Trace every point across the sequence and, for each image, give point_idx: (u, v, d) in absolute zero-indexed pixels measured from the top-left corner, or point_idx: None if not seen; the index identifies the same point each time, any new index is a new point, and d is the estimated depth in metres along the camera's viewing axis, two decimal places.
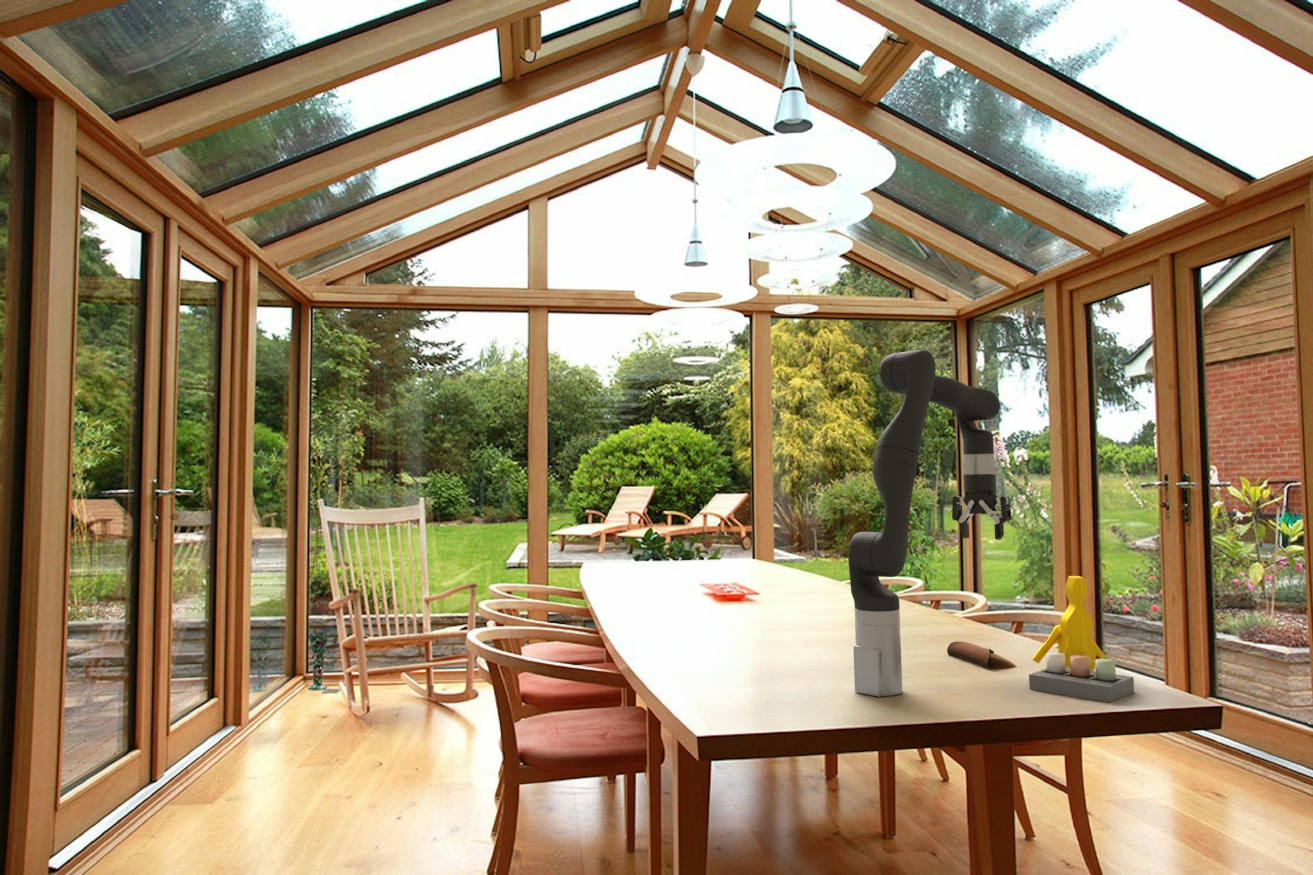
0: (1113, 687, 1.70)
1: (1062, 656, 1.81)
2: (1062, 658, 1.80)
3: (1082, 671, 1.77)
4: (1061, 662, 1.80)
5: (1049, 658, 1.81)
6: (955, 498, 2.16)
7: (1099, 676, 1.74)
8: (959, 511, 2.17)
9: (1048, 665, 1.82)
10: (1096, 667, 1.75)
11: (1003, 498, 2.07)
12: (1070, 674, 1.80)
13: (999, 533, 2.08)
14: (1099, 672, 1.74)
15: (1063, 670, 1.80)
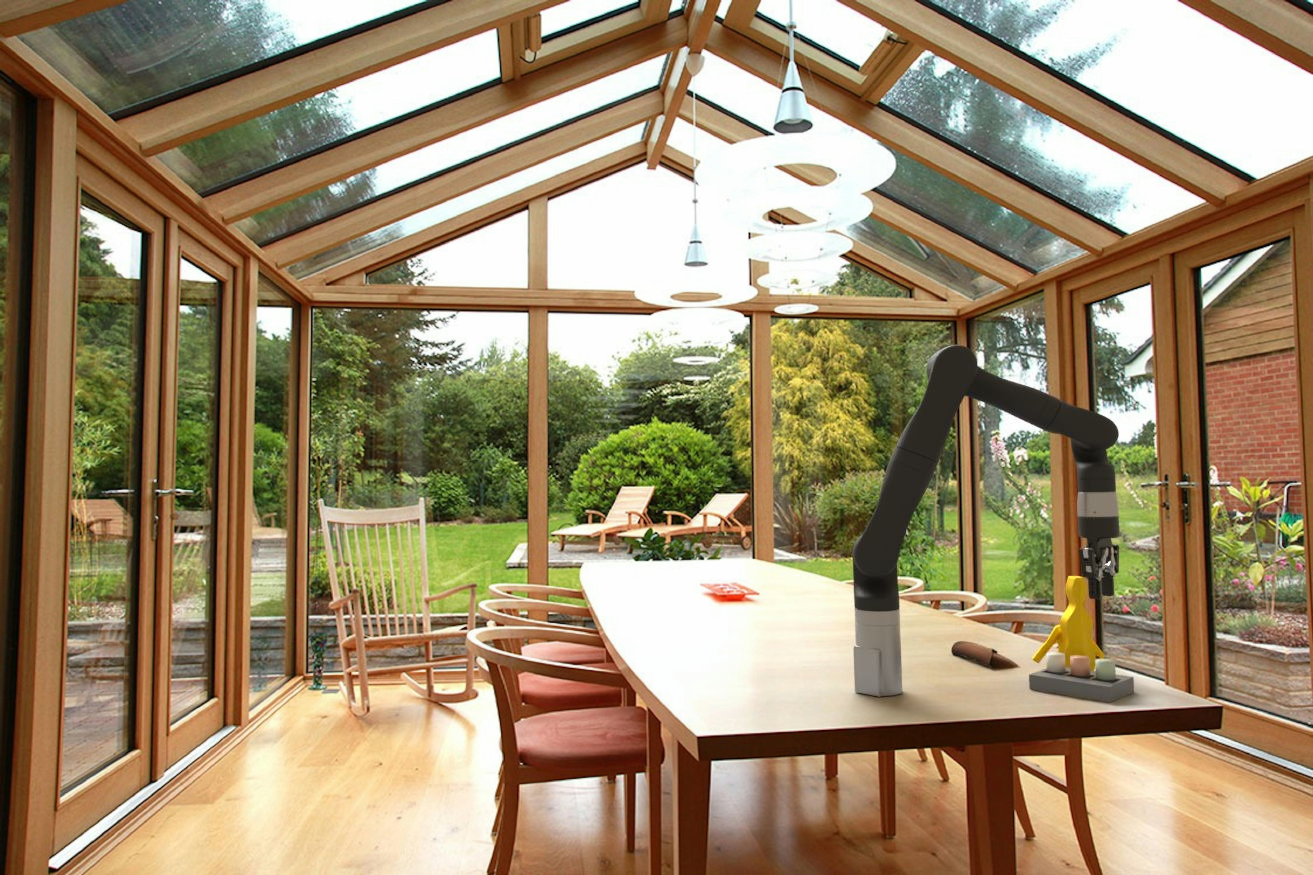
0: (1113, 687, 1.70)
1: (1062, 656, 1.81)
2: (1062, 658, 1.80)
3: (1082, 671, 1.77)
4: (1061, 662, 1.80)
5: (1049, 658, 1.81)
6: (1093, 550, 1.71)
7: (1099, 676, 1.74)
8: (1085, 566, 1.73)
9: (1048, 665, 1.82)
10: (1096, 667, 1.75)
11: (1118, 547, 1.79)
12: (1070, 674, 1.80)
13: None
14: (1099, 672, 1.74)
15: (1063, 670, 1.80)
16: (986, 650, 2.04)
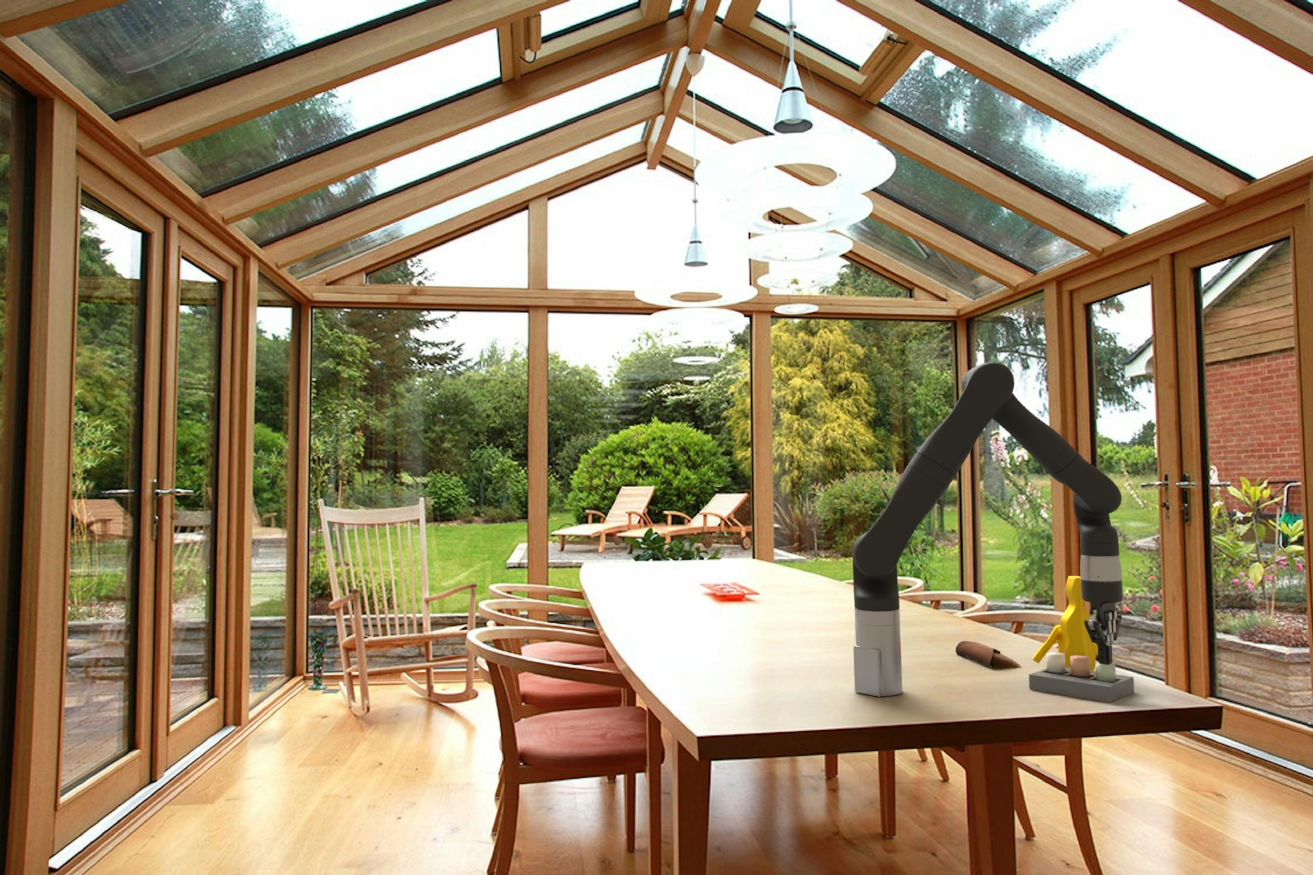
0: (1113, 687, 1.70)
1: (1062, 656, 1.81)
2: (1062, 658, 1.80)
3: (1082, 671, 1.77)
4: (1061, 662, 1.80)
5: (1049, 658, 1.81)
6: (1098, 622, 1.71)
7: (1099, 679, 1.74)
8: None
9: (1048, 665, 1.82)
10: (1096, 670, 1.75)
11: (1121, 617, 1.78)
12: (1070, 674, 1.80)
13: None
14: (1099, 676, 1.74)
15: (1063, 670, 1.80)
16: (988, 650, 2.04)
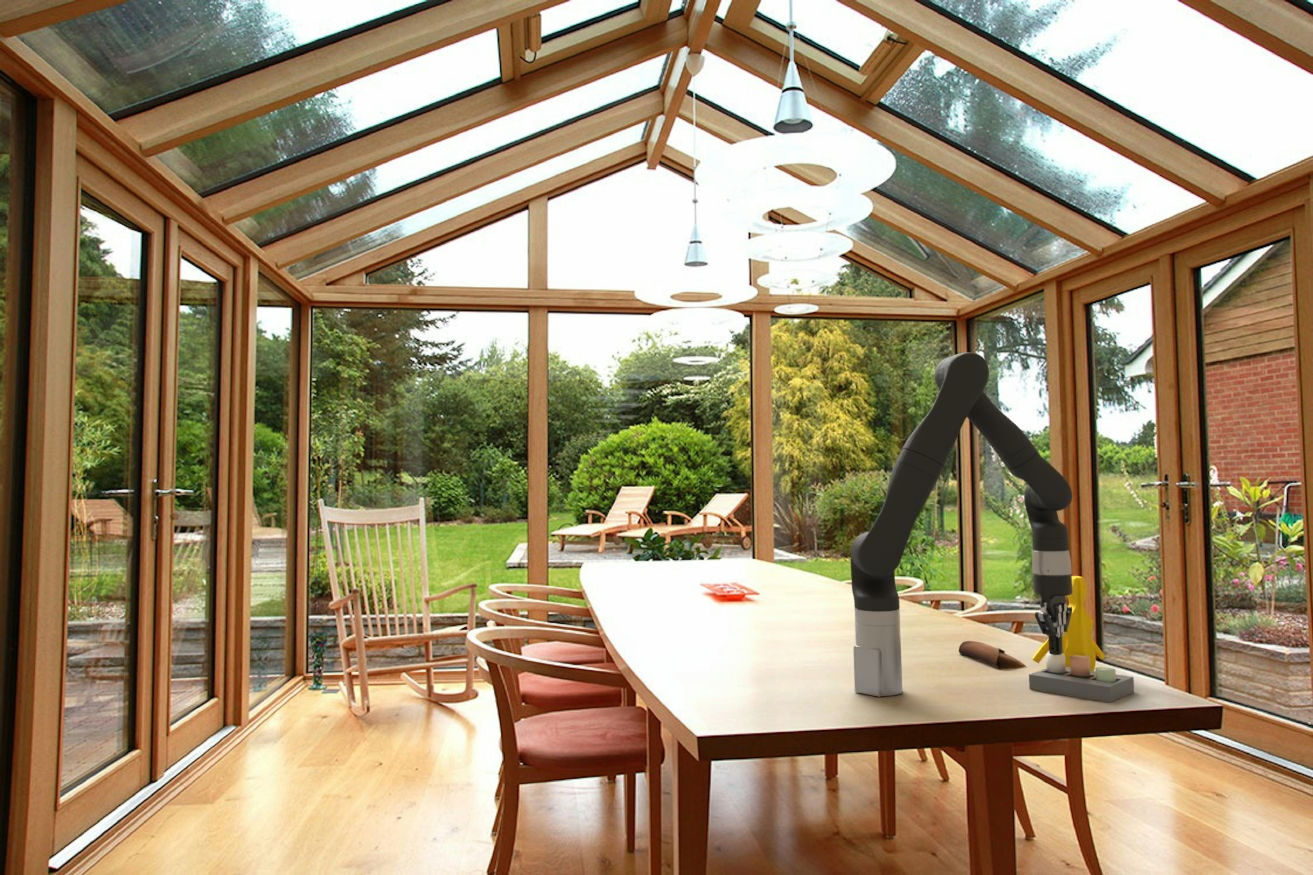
0: (1113, 687, 1.70)
1: (1062, 656, 1.81)
2: (1062, 658, 1.80)
3: (1082, 671, 1.77)
4: (1061, 662, 1.80)
5: (1049, 658, 1.81)
6: (1047, 614, 1.78)
7: None
8: None
9: (1048, 665, 1.82)
10: (1096, 676, 1.75)
11: None
12: (1070, 674, 1.80)
13: None
14: None
15: (1063, 670, 1.80)
16: (993, 650, 2.04)
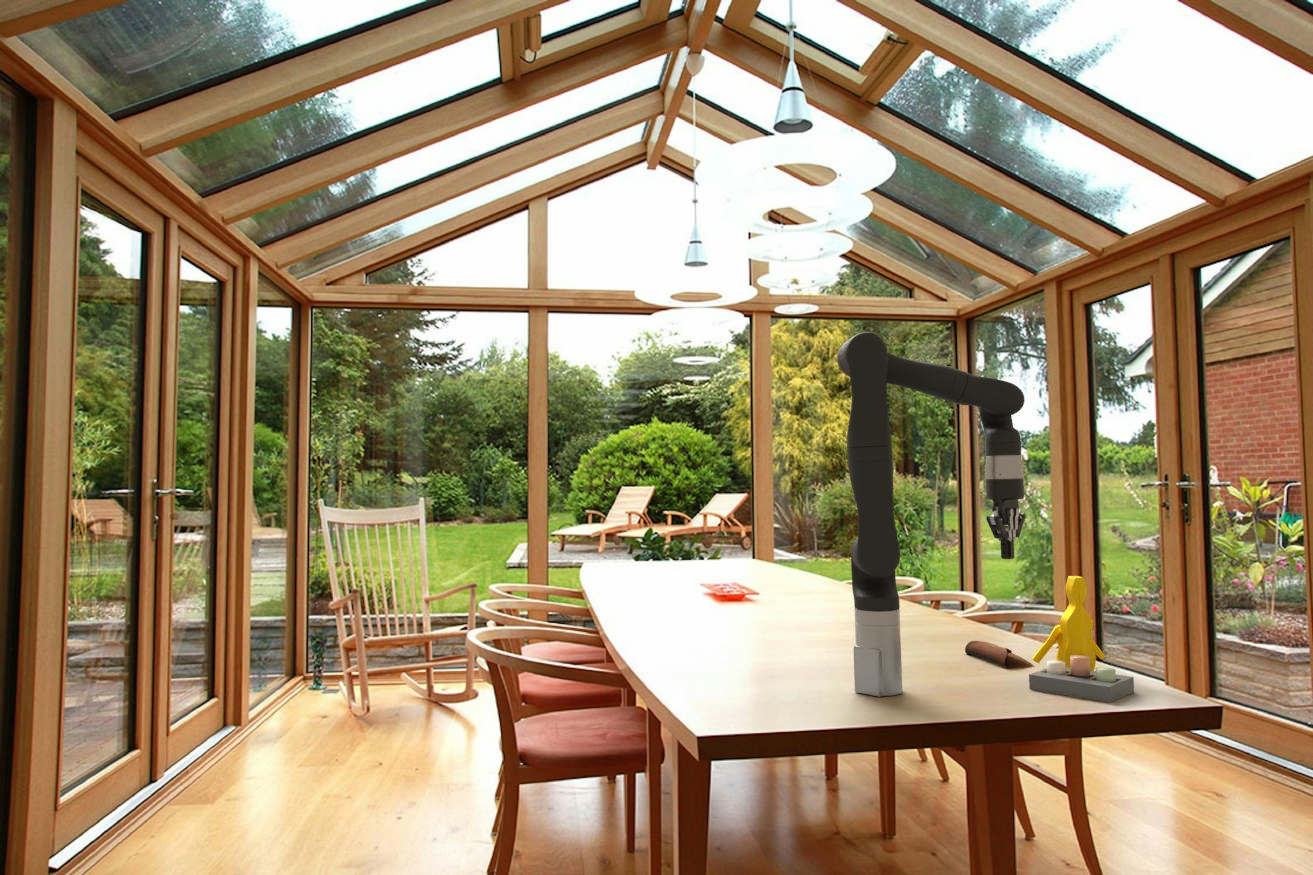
0: (1113, 687, 1.70)
1: (1062, 664, 1.80)
2: (1062, 666, 1.80)
3: (1082, 671, 1.77)
4: (1062, 670, 1.80)
5: (1049, 666, 1.81)
6: (999, 517, 1.79)
7: None
8: None
9: None
10: (1096, 676, 1.75)
11: (1024, 516, 1.87)
12: (1070, 674, 1.80)
13: None
14: None
15: None
16: (1001, 650, 2.04)
